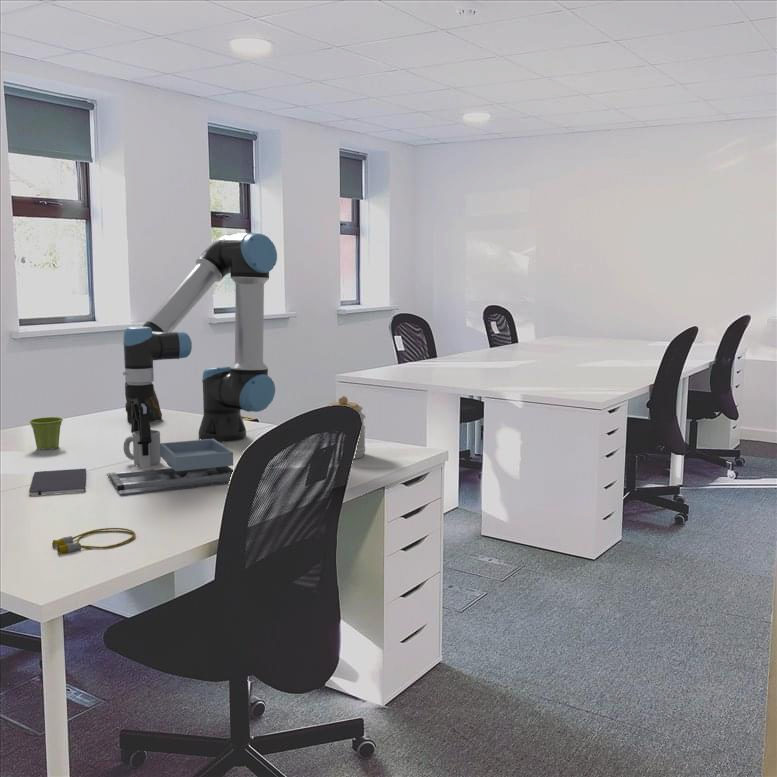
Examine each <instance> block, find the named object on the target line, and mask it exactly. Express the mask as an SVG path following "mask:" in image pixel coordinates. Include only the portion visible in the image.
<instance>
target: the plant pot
mask: <svg viewBox="0 0 777 777" xmlns="http://www.w3.org/2000/svg"><path fill="white" fill-rule="evenodd" d="M63 420H64V419H63V417H57V416H55V417H54V416H49V417H48V416H46V417H38V418H33V419H30V420H28V423H29V424H30V426H31V428H32V431H33V436H34V440H35V445H36V449H38V450H39V449H40V451H41V450H46V451H49V450H55V449H57V448H59V446H60V435H61V426H62V421H63Z"/></svg>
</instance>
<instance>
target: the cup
mask: <svg viewBox="0 0 777 777" xmlns="http://www.w3.org/2000/svg"><path fill="white" fill-rule="evenodd" d="M160 432H161V431H160V430H157V429H156V430H155V429H151V439H152V441H151V442H150V466H151V467H154V466H157V465H160V464H161V461H162V457H161V456H160V443H161V433H160ZM138 442H140V436H139V431H136V432H133V435H130V436H127V437H126V438H125V439H124V442H123V453H124V455H125V457H126V458H127V459H129V460H131V461H132V460H133V464H134V465H135V466H136V465H137V466H136V467H140V454H139V444H137V443H138ZM131 443H132V452H133V451H134V454H133V453H131V450H130V444H131Z"/></svg>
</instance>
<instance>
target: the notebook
mask: <svg viewBox="0 0 777 777" xmlns="http://www.w3.org/2000/svg"><path fill="white" fill-rule="evenodd" d="M86 480H87V468H76V469H75V468H73V469H71V468H70V469H61V470H60V469H58V470H42V471H35V472H34V473H33V477H32V479H31V483H30V486H29V490H28V493H29V496H30V495H38V496H39V495H41V496H43V495H42V494H51V495H56V494H55V493H64V494H72V493H71V492H77V493H86V488H85V487H87V486H86V484H87V483H86V482H87V481H86ZM68 492H70V493H68Z"/></svg>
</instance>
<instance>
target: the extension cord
mask: <svg viewBox="0 0 777 777" xmlns="http://www.w3.org/2000/svg"><path fill="white" fill-rule="evenodd" d="M112 531H113V532H114V531H116V532H114V533H127V534H130V535H131V537H129V538H128V539H126V540H123V541H121V542H119V543H116V544H112V545H111V544H110V545H106V546H105V545H104V546H94V545H84V544H83V545H82V544H81V543H80V540H81V539H82V538H84V537H86V536H88V534H89V535H91V534H97V533H98V534H99V533H113V532H112ZM135 536H136V533H135V531H134V530H132V529H129V528H123V527H104V528H98V529H93V530H89V531H86V532H83V533H79V534H78V535H75V536H71V535H70V536H66V537H62V538H59V539H54V540H52V543H51V544H52V548H54V547H57V548H56V550H57V553H58V554H59V555H63V554H68V553H72V552H76V551H79V550H81V549H82V548H83V549H86V550H90V551H91V550H92V551H93V550H95V549H103V550H106V549H112V548H115V547H119V546H122V545H126V544H129V543H130V542H133V540H134V539H135ZM74 539H77V540H76V542H74Z"/></svg>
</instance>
